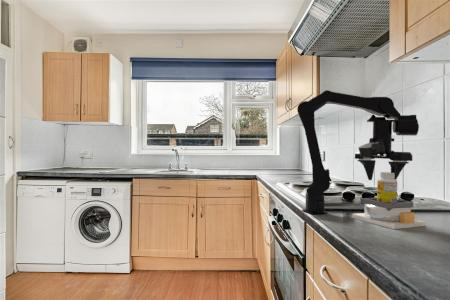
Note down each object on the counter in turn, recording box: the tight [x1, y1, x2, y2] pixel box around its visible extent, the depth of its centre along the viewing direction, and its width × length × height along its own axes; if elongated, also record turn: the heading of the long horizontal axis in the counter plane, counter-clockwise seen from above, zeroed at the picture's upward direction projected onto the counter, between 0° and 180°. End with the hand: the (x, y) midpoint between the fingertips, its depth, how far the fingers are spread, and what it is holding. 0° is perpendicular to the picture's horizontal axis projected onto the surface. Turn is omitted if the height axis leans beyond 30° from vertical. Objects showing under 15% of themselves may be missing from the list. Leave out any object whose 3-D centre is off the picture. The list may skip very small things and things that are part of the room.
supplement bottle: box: [376, 171, 398, 203], centre depth 101 cm, size 6×6×10 cm
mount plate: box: [351, 212, 426, 230], centre depth 101 cm, size 16×13×1 cm
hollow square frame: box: [361, 197, 415, 224], centre depth 100 cm, size 14×13×6 cm
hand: (381, 181), depth 108 cm, fingers open, 9 cm apart
